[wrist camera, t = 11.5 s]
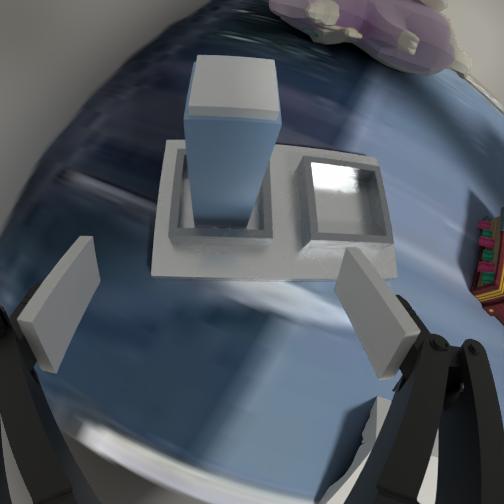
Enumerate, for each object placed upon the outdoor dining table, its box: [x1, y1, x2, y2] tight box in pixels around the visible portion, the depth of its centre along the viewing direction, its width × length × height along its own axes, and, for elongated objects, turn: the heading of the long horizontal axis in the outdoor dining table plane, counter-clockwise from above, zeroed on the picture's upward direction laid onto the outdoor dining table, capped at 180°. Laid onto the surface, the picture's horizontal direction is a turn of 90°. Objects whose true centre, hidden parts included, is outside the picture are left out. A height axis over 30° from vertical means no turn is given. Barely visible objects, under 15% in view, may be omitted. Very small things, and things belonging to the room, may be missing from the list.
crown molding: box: [318, 396, 438, 504], centre depth 19 cm, size 29×12×4 cm, turn 64°
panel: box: [151, 140, 398, 282], centre depth 23 cm, size 20×12×3 cm, turn 91°
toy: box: [269, 0, 472, 79], centre depth 27 cm, size 29×17×30 cm
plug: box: [183, 55, 282, 227], centre depth 17 cm, size 4×5×13 cm
